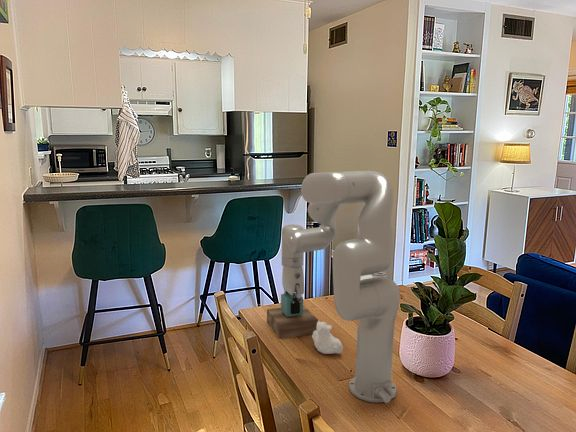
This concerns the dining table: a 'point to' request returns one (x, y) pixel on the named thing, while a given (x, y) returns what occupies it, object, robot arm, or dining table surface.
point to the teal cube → (289, 305)
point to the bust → (326, 339)
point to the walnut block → (291, 323)
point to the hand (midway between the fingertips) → (291, 309)
